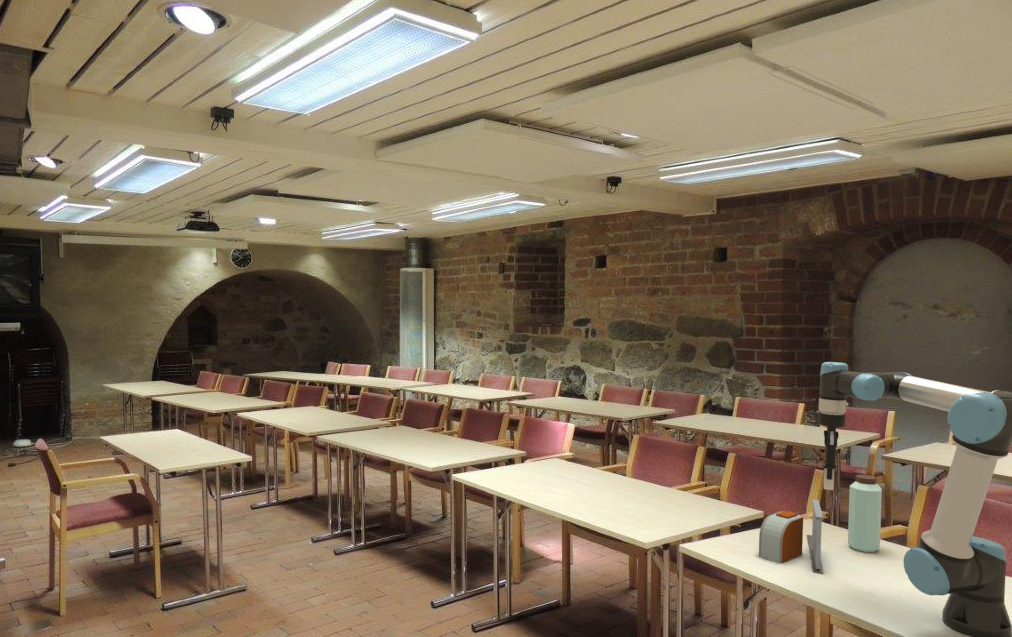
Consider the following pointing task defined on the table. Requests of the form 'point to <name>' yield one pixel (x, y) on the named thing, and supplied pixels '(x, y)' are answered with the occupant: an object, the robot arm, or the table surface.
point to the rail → (809, 538)
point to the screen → (816, 532)
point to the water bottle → (864, 514)
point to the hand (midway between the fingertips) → (828, 489)
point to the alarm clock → (781, 536)
